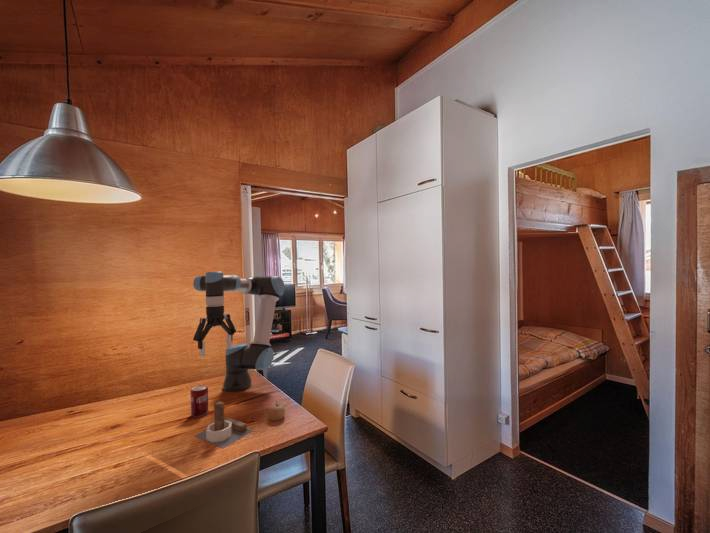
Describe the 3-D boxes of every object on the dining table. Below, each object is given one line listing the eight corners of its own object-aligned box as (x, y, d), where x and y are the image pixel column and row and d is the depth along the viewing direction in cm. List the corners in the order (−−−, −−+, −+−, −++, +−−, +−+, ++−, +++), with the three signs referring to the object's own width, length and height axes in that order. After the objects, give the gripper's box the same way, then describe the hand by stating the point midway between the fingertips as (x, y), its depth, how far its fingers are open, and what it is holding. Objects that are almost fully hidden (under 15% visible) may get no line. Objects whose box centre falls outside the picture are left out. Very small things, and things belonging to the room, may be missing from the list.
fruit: (267, 417, 140) (267, 399, 140) (284, 415, 143) (284, 397, 143) (268, 425, 133) (267, 406, 133) (286, 422, 135) (285, 404, 135)
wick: (222, 425, 132) (222, 419, 132) (227, 423, 134) (227, 417, 134) (241, 432, 126) (241, 426, 126) (246, 429, 128) (246, 423, 128)
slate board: (224, 422, 137) (224, 420, 137) (253, 433, 127) (253, 430, 127) (193, 438, 125) (193, 435, 125) (223, 451, 115) (222, 448, 115)
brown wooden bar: (220, 431, 126) (219, 401, 126) (224, 432, 125) (223, 402, 125) (214, 434, 124) (214, 403, 124) (218, 435, 123) (218, 404, 123)
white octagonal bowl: (222, 427, 130) (222, 418, 130) (236, 433, 126) (236, 423, 126) (202, 438, 123) (201, 428, 123) (216, 444, 118) (216, 434, 118)
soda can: (211, 410, 149) (211, 385, 149) (202, 417, 142) (202, 391, 142) (197, 410, 150) (196, 384, 150) (187, 417, 143) (186, 390, 143)
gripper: (233, 302, 156) (234, 345, 156) (183, 308, 135) (184, 358, 135) (243, 302, 153) (244, 346, 153) (193, 309, 131) (195, 360, 131)
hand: (216, 352), depth 144 cm, fingers open, 13 cm apart
